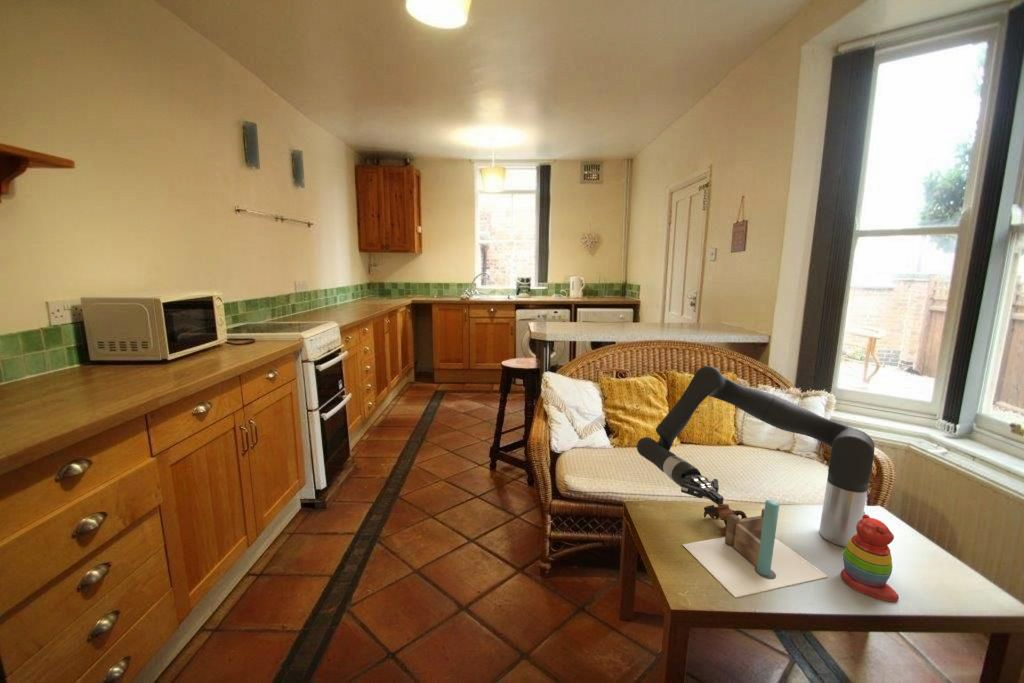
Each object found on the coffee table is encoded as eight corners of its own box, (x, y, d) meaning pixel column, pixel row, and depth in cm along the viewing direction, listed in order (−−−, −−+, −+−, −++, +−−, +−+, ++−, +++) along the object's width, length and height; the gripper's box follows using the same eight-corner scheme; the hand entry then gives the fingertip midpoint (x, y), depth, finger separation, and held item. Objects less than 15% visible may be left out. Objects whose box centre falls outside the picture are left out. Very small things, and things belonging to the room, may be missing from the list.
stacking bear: (902, 603, 100) (916, 536, 97) (854, 596, 102) (866, 530, 99) (873, 572, 110) (885, 510, 107) (830, 566, 112) (840, 505, 109)
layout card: (764, 530, 127) (764, 529, 127) (828, 577, 108) (828, 576, 108) (682, 545, 120) (682, 544, 119) (735, 598, 100) (735, 596, 100)
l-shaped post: (730, 546, 118) (738, 483, 115) (739, 545, 119) (747, 482, 115) (762, 576, 107) (772, 506, 103) (772, 574, 107) (782, 505, 104)
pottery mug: (711, 538, 124) (703, 508, 127) (705, 533, 133) (698, 506, 135) (754, 533, 122) (745, 503, 124) (746, 529, 130) (737, 501, 133)
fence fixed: (764, 533, 125) (767, 508, 124) (772, 539, 122) (776, 513, 121) (722, 541, 121) (725, 514, 120) (730, 547, 118) (733, 520, 117)
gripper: (663, 463, 129) (702, 491, 113) (699, 458, 133) (742, 486, 116) (661, 485, 131) (699, 517, 114) (697, 480, 134) (739, 510, 117)
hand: (721, 501), depth 115 cm, fingers closed
